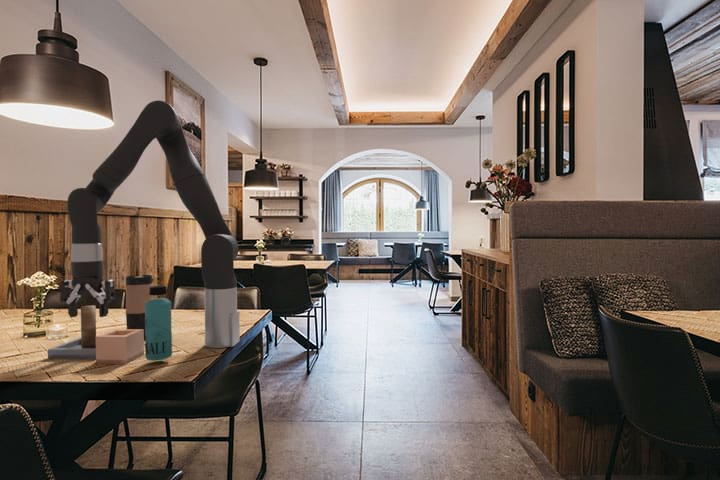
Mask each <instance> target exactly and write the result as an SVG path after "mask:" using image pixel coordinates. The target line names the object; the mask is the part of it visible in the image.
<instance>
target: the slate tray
mask: <svg viewBox="0 0 720 480" xmlns="http://www.w3.org/2000/svg"><path fill="white" fill-rule="evenodd" d="M47 359H48V360H49V359H50V360H52V359H54V360H57V359H58V360H62V359H68V360H72V359H74V360H75V359H76V360H83V359H84V360H89V359H90V360H92V359H93V360H96V348H81V337H79V338H76V339H73V340H70V341H68V342H65V343H61V344H59V345H56V346H53V347H51V348H48V349H47Z"/></svg>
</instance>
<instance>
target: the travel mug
mask: <svg viewBox="0 0 720 480" xmlns="http://www.w3.org/2000/svg"><path fill="white" fill-rule="evenodd" d="M153 284H154V283H153V275H151V274H143V275H141V276H135V275H127V276H125V317H126V319H125V320H126V321H125V322H126V323H125V324H126V329H144V341H145V324H144V323H145V322H144V319H145V304H146V302H147V301H149V300H150V299H154V295H149V292H150V287H153Z"/></svg>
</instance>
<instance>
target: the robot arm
mask: <svg viewBox="0 0 720 480" xmlns="http://www.w3.org/2000/svg"><path fill="white" fill-rule="evenodd" d="M154 140H157V142H158V144H159V145H160V147H161V149H162V151H163V153H164V155H165V157H166V161H167V166H168V169H169V174H170V177H171V180H172V183H173V186H174V188H175V190H176V193H177V194H178V197H179V198H180V200H181V202H182V204H183V205H184V206H185V208H186V209H187V211H188V212H189V213H190V214H191V215H192V217H193V218H194V220H195V221H196V222H197V223H198V225H199V226H200V228H201V230H202V233H203V236H204V241H203V242H202V245H201V250H200V260H201V262H200V263H201V265H200V266H201V276H202V277H201V278H202V280H203V283H204V286H203V287H204V291H203V292H204V347H206V348H208V349H209V348H210V349H222V348H223V349H224V348H231V347H235V346H236V345H237V344H238V343H239V342H240V340H241V339H240V336H241V335H240V330H241V329H240V311H239V310H238V287H237V285H238V283H237V282H238V281H237V277H236V275H235V271H234V269H235V267H234V261H235V260H236V258H238V255H239V244H238V242H237V239H236V238H235V236H234V235H233V233H232V232H231V229H230V228H229V226H228V225H227V223H226V221H225V219H224V217H223V215H222V212H221V210H220V207H219V204H218V202H217V200H216V198H215V196H214V193H213V190H212V188H211V185H210V183H209V181H208V179H207V177H206V174H205V172H204V171H203V169H202V167H201V165H200V163H199V161H198V160H197V158H196V157H195V155H194V154H193V152H192V151H191V149H190V145H189V144H188V141H187V138H186V135H185V132H184V129H183V126H182V123H181V119H180V117H179V115H178V114H177V112H176V110H175V109H174V107H173V106H172V104H170V103H168V102H166V101H164V100H153V101H151V102H149V103H148V104H146V105H145V107H144V108H143V109H142V111H141V112H140V114H139V115H138V116H137V118H136V120H135V121H134V123H133V125H132V126H131V128H130V129H129V130H128V132H127V133H126V135H125V136H124V137H123V138H122V140H121V141H120V143H119V144H118V145H117V146H116V147H115V149H114V150H113V151H112V152H111V153H110V154H109V155H108V157H106V158H105V160H104V161H103V162H102V163H100V165H99V166H98V168H96V169H95V171H94V172H93V173H92V180H91V181H90V182H89V183H88V184H87V186H86V187H77V188H75V189H73V190H71V192H70V193H69V195H68V197H67V203H66V204H67V206H66V207H67V213H68V217H69V218H68V219H69V223H70V225H71V249H70V268H71V269H70V271H71V272H70V275H71V277H72V280H71V279H66V280H61V281H60V291H59V292H60V295H59V296H60V297H59V301H60V302H62V303H63V302H64V303H66V305H67V314H68V316H69V318H77V317H78V316H79V315H78V314H79V313H78V312H79V311H78V310H79V308H78V307H79V306H78V303H77V302H78V301H79V299H80V298H81V297H82V296H83V297H85V296H87V297H91V296H93V298H94V299H96V300H97V301H98V302H99V305H98V306H99V307H98V311H99V315H98V316H99V318H104V317H107V315H109V303H110V302H113V301H115V300H116V288H115V286H116V285H115V281H114V279H108V280H104V278H103V276H104V250H103V244H102V243H103V242H102V241H103V237H102V236H103V235H102V234H103V233H102V228H101V225H100V223H99V222H98V221H99V220H98V213H99V212H100V211H101V210H102V209H103V208H104V207H105V206H106V205H107V204H108V202H109V201H110V199H111V198H112V196H113V195H114V193H115V191H117V189H118V188H119V187H120V186H121V185H122V184H123V183H124V182H125V181H126V180H127V178H128V177H129V176H130V175H131V174H132V172H133V171H134V169H135V168H136V167H137V166H138V165H137V164H138V163H139V161H140V159H141V158H142V156H143V154H144V152H145V150H146V149H147V148H148V146H149V145H150V144H151V143H152V141H154ZM72 288H73V290H72ZM103 288H104V289H103Z"/></svg>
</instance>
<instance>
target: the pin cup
mask: <svg viewBox="0 0 720 480" xmlns="http://www.w3.org/2000/svg"><path fill="white" fill-rule="evenodd" d="M144 355H145V340H144V329H127V328H125V329H123V328H122V329H120V328H118V329H113V330H109V331H107V332H104V333H102V334H98V335H96V359H95V364H97V365H102V364H103V365H104V364H105V365H106V364H109V365H111V364H113V365H118V364H119V365H122V364H123V365H125V364H129V363H130V362H133V361H134V360H136V359H138V358H140V357H142V356H144Z"/></svg>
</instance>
